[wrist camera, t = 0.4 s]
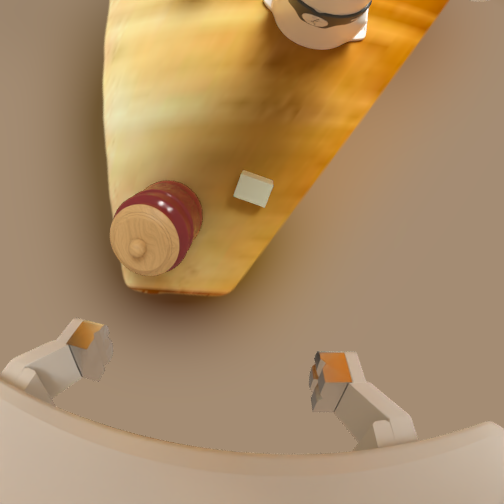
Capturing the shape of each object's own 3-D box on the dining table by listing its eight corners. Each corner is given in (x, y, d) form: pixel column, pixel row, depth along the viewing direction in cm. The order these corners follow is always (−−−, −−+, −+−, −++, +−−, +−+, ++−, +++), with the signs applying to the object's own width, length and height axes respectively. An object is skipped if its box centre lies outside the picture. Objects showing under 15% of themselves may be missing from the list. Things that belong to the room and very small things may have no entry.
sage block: (243, 169, 49) (241, 173, 45) (272, 180, 50) (273, 185, 46) (235, 190, 51) (233, 196, 47) (264, 200, 52) (264, 207, 48)
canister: (199, 250, 56) (174, 302, 40) (137, 237, 56) (95, 281, 40) (209, 185, 51) (183, 215, 35) (143, 173, 50) (93, 198, 34)
